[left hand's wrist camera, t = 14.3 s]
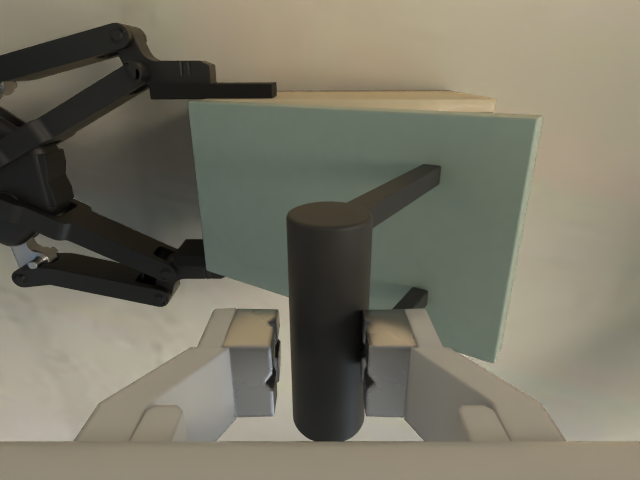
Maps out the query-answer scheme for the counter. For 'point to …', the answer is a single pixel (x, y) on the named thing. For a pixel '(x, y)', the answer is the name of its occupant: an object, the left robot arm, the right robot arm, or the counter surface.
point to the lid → (364, 227)
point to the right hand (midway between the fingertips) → (277, 176)
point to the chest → (384, 100)
